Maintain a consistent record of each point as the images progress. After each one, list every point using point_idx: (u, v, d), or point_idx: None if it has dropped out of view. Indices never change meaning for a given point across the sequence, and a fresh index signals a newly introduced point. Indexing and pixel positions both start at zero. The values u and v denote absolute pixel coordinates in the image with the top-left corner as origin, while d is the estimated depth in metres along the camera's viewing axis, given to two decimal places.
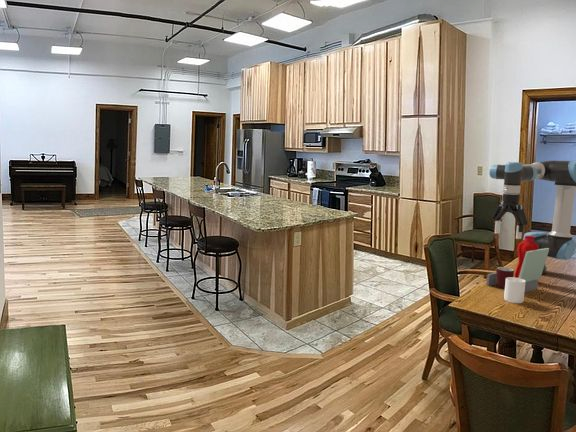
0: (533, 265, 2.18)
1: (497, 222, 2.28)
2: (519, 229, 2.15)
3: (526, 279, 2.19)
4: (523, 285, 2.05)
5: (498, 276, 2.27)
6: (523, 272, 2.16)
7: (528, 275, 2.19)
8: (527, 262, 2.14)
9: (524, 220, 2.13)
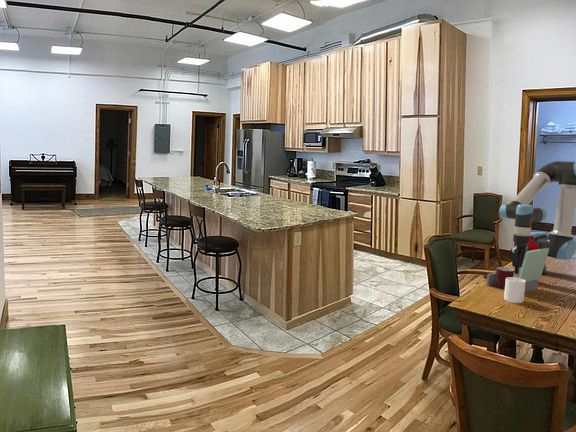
0: (533, 265, 2.18)
1: None
2: None
3: (526, 279, 2.19)
4: (523, 285, 2.05)
5: (498, 276, 2.27)
6: (523, 272, 2.16)
7: (528, 275, 2.19)
8: (527, 262, 2.14)
9: (513, 263, 2.28)
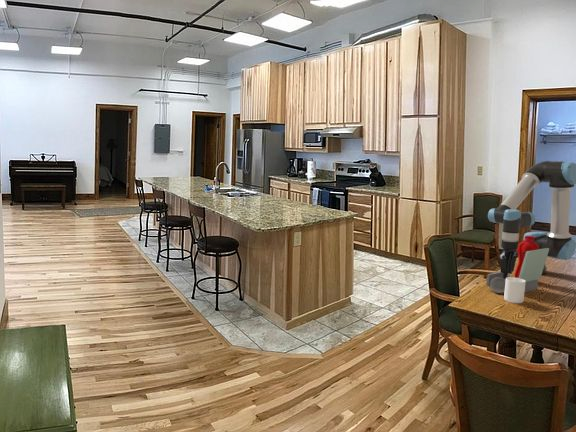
0: (533, 265, 2.18)
1: None
2: None
3: (526, 279, 2.19)
4: (523, 285, 2.05)
5: None
6: (523, 272, 2.16)
7: (528, 275, 2.19)
8: (527, 262, 2.14)
9: (502, 269, 2.24)
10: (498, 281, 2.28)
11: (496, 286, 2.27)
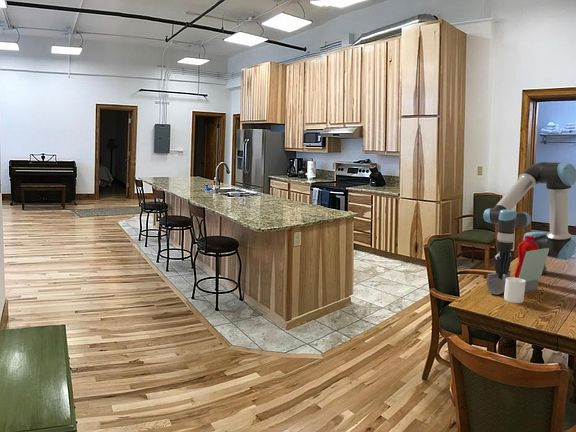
0: (533, 265, 2.18)
1: None
2: None
3: (526, 279, 2.19)
4: (523, 285, 2.05)
5: None
6: (523, 272, 2.16)
7: (528, 275, 2.19)
8: (527, 262, 2.14)
9: (497, 270, 2.22)
10: (493, 282, 2.26)
11: (492, 288, 2.25)
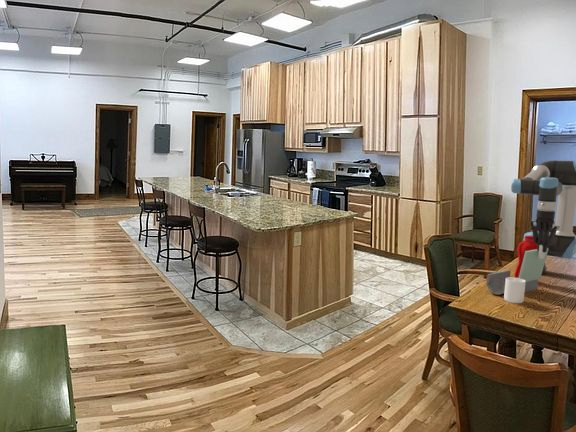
0: (533, 264, 2.18)
1: None
2: (543, 249, 2.14)
3: (526, 279, 2.19)
4: (523, 285, 2.05)
5: None
6: (523, 272, 2.16)
7: (528, 274, 2.19)
8: (526, 262, 2.15)
9: (551, 241, 2.11)
10: (494, 282, 2.25)
11: (492, 287, 2.25)
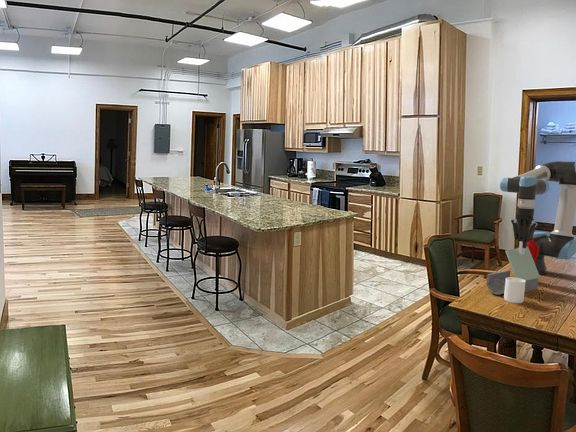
0: (522, 262, 2.23)
1: None
2: (523, 245, 2.22)
3: (524, 277, 2.20)
4: (523, 285, 2.05)
5: None
6: (515, 270, 2.19)
7: (523, 273, 2.21)
8: (512, 259, 2.21)
9: (530, 237, 2.20)
10: (494, 282, 2.25)
11: (492, 287, 2.25)
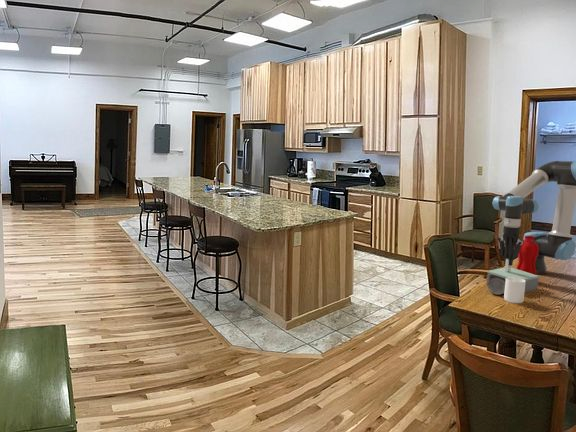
0: (510, 273, 2.29)
1: None
2: (509, 263, 2.29)
3: (521, 278, 2.21)
4: (523, 285, 2.05)
5: None
6: (507, 276, 2.23)
7: (517, 276, 2.24)
8: (499, 273, 2.28)
9: (516, 255, 2.27)
10: (494, 282, 2.25)
11: (492, 287, 2.25)
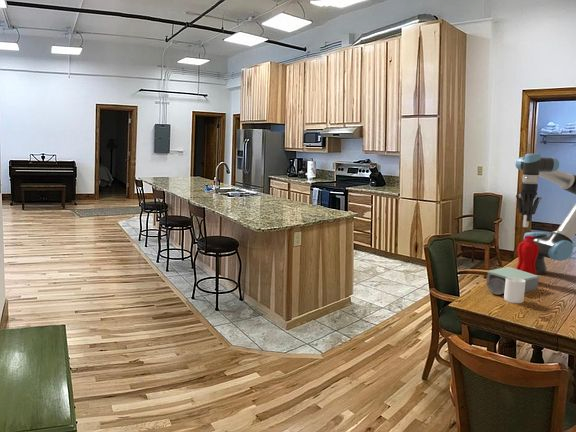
0: (510, 273, 2.29)
1: None
2: (527, 218, 2.37)
3: (521, 278, 2.21)
4: (523, 285, 2.05)
5: None
6: (507, 276, 2.23)
7: (517, 276, 2.24)
8: (499, 273, 2.28)
9: (534, 211, 2.35)
10: (494, 282, 2.25)
11: (492, 287, 2.25)
